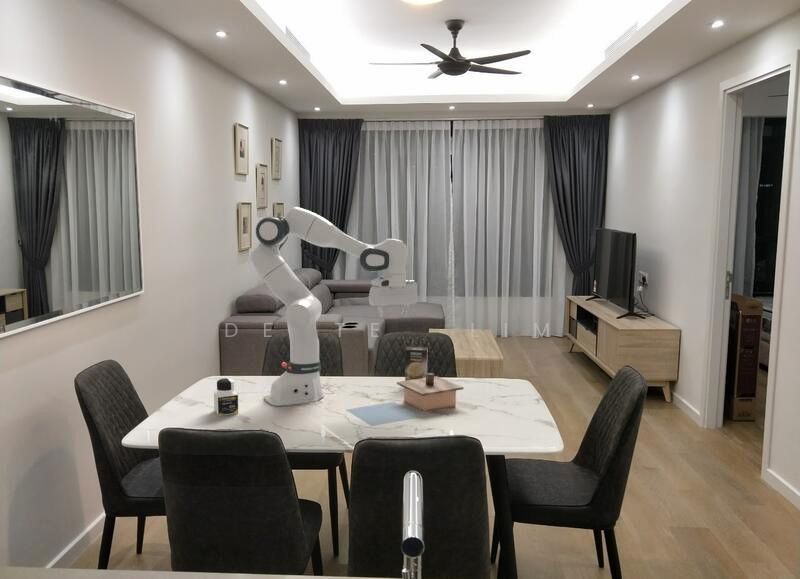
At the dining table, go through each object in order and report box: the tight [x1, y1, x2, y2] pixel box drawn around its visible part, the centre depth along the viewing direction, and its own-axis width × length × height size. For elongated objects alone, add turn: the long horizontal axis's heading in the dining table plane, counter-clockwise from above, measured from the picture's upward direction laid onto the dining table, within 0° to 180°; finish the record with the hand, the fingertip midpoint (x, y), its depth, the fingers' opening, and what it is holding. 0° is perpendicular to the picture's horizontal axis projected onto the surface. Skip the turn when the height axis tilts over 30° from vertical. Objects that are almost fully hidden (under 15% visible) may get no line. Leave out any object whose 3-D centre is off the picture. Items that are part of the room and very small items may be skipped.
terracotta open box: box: [403, 387, 457, 412], centre depth 244 cm, size 14×14×7 cm
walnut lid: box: [396, 372, 464, 396], centre depth 243 cm, size 18×18×5 cm
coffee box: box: [404, 346, 429, 381], centre depth 268 cm, size 9×6×16 cm
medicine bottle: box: [213, 377, 239, 417], centre depth 233 cm, size 7×7×12 cm
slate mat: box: [346, 401, 423, 427], centre depth 232 cm, size 20×20×1 cm
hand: (393, 316), depth 252 cm, fingers open, 8 cm apart
